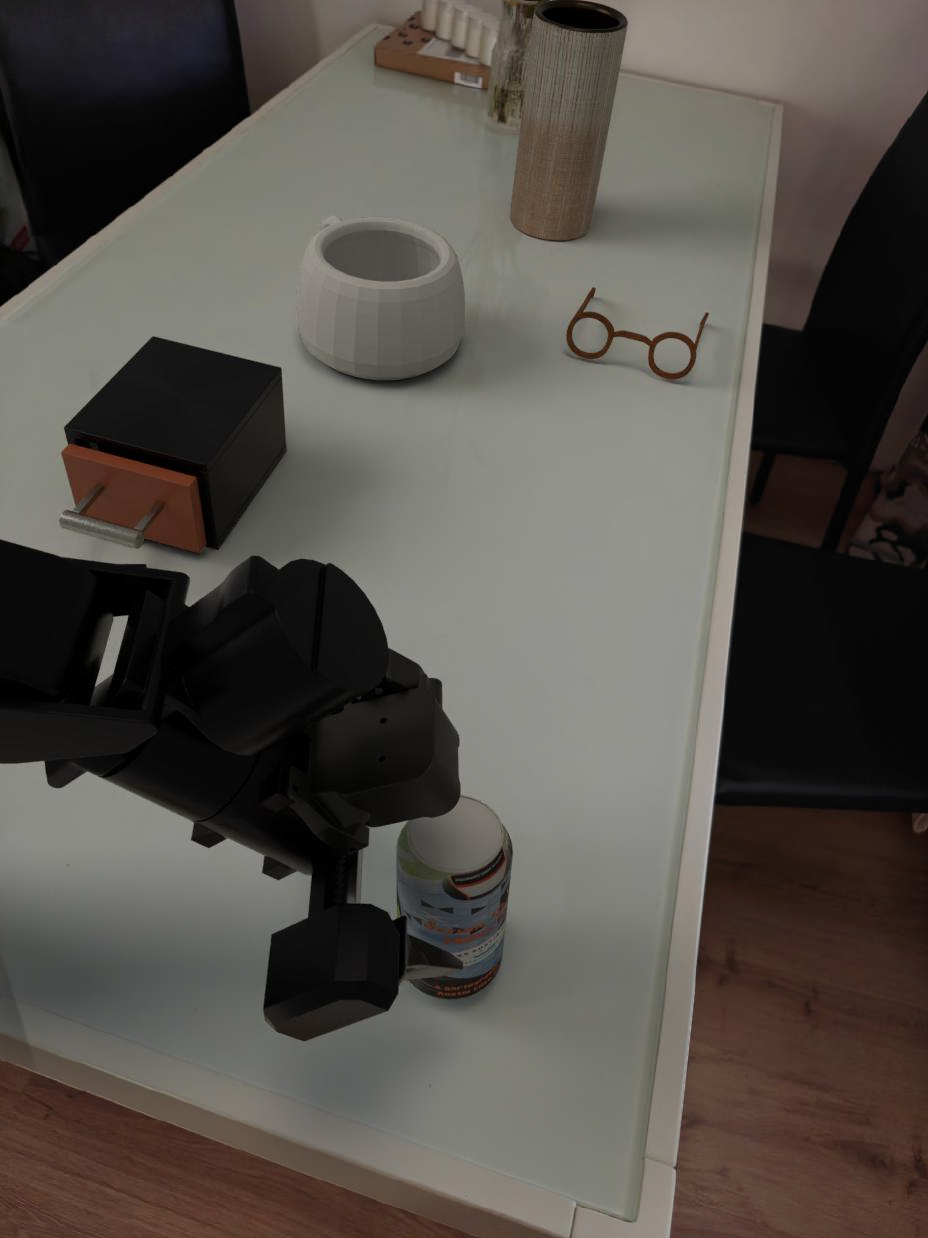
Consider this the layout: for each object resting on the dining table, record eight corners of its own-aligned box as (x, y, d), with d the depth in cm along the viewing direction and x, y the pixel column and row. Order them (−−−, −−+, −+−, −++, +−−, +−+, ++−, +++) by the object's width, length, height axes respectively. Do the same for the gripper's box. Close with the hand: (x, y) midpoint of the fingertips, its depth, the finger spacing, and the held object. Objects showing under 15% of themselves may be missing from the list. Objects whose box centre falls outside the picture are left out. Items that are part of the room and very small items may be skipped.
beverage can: (424, 1028, 55) (437, 932, 46) (370, 915, 59) (373, 807, 50) (522, 980, 57) (553, 880, 48) (463, 874, 61) (482, 765, 53)
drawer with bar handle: (171, 595, 74) (157, 527, 69) (45, 559, 75) (23, 490, 70) (266, 459, 85) (261, 393, 80) (156, 430, 87) (144, 363, 82)
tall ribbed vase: (585, 206, 125) (621, 2, 108) (595, 244, 118) (635, 33, 102) (507, 200, 124) (531, -6, 108) (511, 239, 118) (538, 25, 101)
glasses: (561, 355, 102) (569, 311, 98) (590, 295, 110) (598, 253, 106) (687, 387, 100) (700, 343, 96) (706, 323, 108) (719, 281, 104)
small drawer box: (218, 550, 79) (206, 464, 72) (85, 513, 80) (63, 427, 74) (287, 450, 88) (281, 367, 81) (166, 419, 89) (152, 335, 83)
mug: (493, 366, 99) (504, 273, 92) (342, 407, 92) (341, 311, 85) (392, 266, 111) (395, 176, 104) (252, 296, 104) (244, 203, 97)
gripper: (337, 900, 33) (601, 1024, 42) (362, 525, 46) (562, 682, 55) (137, 991, 39) (410, 1084, 48) (209, 632, 51) (414, 759, 60)
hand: (455, 884), depth 52 cm, fingers open, 9 cm apart
